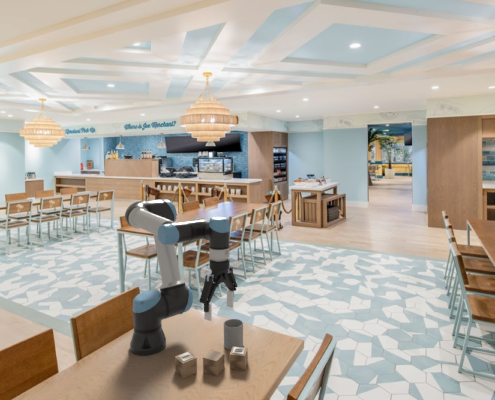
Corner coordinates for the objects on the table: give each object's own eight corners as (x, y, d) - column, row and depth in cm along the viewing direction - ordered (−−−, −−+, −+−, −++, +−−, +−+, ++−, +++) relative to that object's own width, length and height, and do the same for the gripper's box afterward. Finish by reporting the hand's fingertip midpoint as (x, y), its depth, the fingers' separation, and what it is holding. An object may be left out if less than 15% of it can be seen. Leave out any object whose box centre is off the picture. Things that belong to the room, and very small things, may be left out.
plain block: (203, 372, 131) (202, 357, 130) (211, 364, 136) (211, 349, 136) (216, 376, 129) (216, 361, 128) (224, 367, 134) (224, 353, 133)
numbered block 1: (175, 371, 132) (174, 355, 131) (188, 365, 136) (188, 350, 135) (183, 378, 127) (182, 362, 127) (197, 372, 131) (196, 356, 130)
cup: (240, 351, 146) (240, 328, 145) (221, 349, 148) (221, 326, 147) (244, 341, 154) (244, 319, 153) (226, 339, 156) (226, 318, 155)
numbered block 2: (229, 369, 133) (229, 353, 133) (233, 360, 139) (232, 345, 138) (244, 370, 132) (244, 355, 131) (247, 361, 138) (247, 346, 137)
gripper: (205, 269, 116) (205, 328, 118) (246, 252, 137) (245, 303, 139) (189, 265, 120) (189, 322, 122) (231, 250, 141) (230, 299, 143)
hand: (219, 312), depth 131 cm, fingers open, 13 cm apart
